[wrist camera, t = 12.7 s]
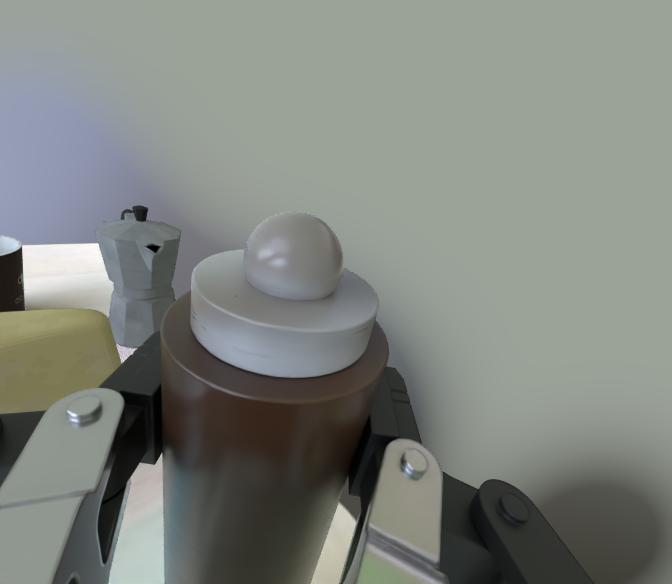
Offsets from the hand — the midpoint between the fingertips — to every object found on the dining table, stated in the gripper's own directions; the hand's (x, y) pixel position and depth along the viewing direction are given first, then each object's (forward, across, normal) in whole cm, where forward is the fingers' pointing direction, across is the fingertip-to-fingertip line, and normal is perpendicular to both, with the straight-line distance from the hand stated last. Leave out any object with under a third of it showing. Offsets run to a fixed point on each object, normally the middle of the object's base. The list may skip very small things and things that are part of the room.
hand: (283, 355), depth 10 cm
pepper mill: (-3, 0, +11) cm, 11 cm away
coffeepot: (+31, +23, +23) cm, 44 cm away
